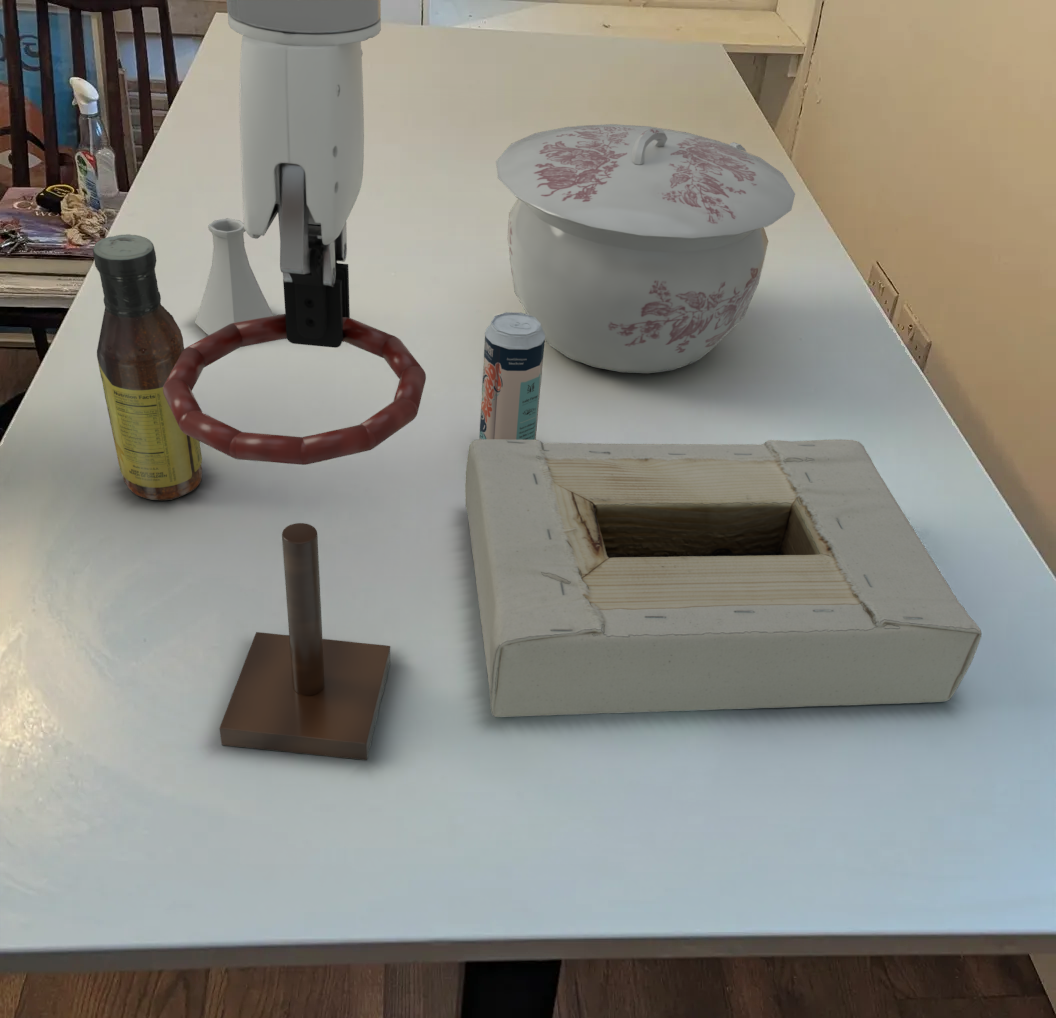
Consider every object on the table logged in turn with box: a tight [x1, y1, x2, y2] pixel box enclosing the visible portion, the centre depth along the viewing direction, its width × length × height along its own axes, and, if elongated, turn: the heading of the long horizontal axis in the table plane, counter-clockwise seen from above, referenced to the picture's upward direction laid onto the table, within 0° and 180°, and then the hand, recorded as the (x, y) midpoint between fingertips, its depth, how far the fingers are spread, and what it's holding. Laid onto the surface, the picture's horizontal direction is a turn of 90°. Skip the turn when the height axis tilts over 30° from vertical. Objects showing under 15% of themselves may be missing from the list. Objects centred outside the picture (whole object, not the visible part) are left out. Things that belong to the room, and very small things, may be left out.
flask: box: [194, 217, 274, 336], centre depth 112 cm, size 7×7×10 cm
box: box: [464, 438, 982, 718], centre depth 84 cm, size 23×8×32 cm
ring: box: [163, 313, 427, 466], centre depth 65 cm, size 14×14×1 cm
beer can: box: [478, 311, 546, 440], centre depth 97 cm, size 5×5×12 cm
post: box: [218, 522, 391, 761], centre depth 72 cm, size 9×9×14 cm
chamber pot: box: [495, 123, 796, 374], centre depth 112 cm, size 28×28×21 cm
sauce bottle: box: [92, 233, 203, 501], centre depth 87 cm, size 6×6×20 cm
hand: (318, 333), depth 70 cm, fingers closed on ring, 1 cm apart
